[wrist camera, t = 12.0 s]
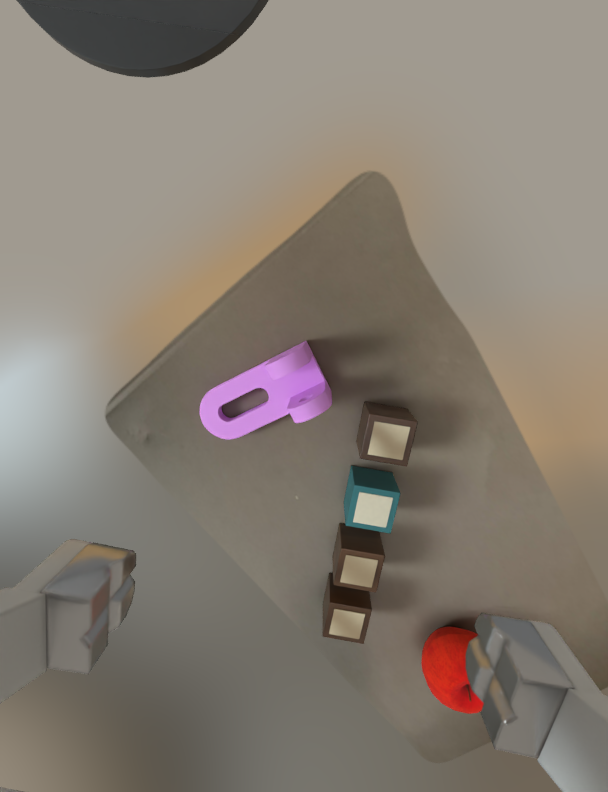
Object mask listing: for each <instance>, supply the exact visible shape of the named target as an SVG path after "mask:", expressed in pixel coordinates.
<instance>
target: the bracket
mask: <svg viewBox="0 0 608 792" xmlns="http://www.w3.org/2000/svg"><path fill="white" fill-rule="evenodd" d="M256 388H263V389H265V390H266V391H267V393H268V395H269V400H268V401H267V402H265V403H263V404H260V405H258V406H256V407H254V408H252V409H250V410H248V411H246V412H244V413H242V414H240V415H238V416H236V417H233V418H229V417H226V416H225V415H224V414H223V412H222V405H223V404H225V403H227V402H229V401H231V400H233V399H235V398H237V397H239V396H241V395H243V394H245V393H247V392H249V391H251V390H254V389H256ZM331 405H332V394H331V389H330V387H329V385H328V383H327V381H326V379H325V377H324V375H323V373H322V371H321V369H320V367H319V365H318V363H317V361H316V359H315V357H314V355H313V353H312V351H311V349H310V347H309V345H308V343H307V341H304V342H302V343H300V344H298V345H296V346H294V347H292V348H290V349H289V350H287V351H285V352H283V353H281V354H279V355H277V356H275V357H273V358H271V359H269V360H267V361H265V362H263V363H261V364H259V365H257V366H255V367H253V368H251V369H249V370H247V371H245V372H243V373H241V374H239V375H237V376H235V377H233V378H231V379H229V380H227V381H225V382H223V383H221V384H219V385H217V386H216V387H214V388H213V389H211V390H210V391H209V392H208V393H206V395H205V396H204V397H203V399H202V401H201V404H200V417H201V421H202V423H203V425H204V426H205V428H206V429H207V430H208V431H209V432H210V433H212V434H213V435H215V436H217V437H219V438H222V439H235V438H239V437H241V436H243V435H245V434H247V433H249V432H252V431H254V430H256V429H258V428H260V427H262V426H264V425H266V424H268V423H270V422H273V421H275V420H277V419H279V418H281V417H283V416H285V415H287V414H289V413H290V415H291V417H292V418H293V420H294V422H295V423H301V422H304V421H307V420H310V419H312V418H314V417H316V416H318V415H320V414H321V413H323V412H324V411H326V410H327V409H328V408H329V407H330V406H331Z"/></svg>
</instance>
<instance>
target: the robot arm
mask: <svg viewBox="0 0 608 792" xmlns="http://www.w3.org/2000/svg"><path fill="white" fill-rule="evenodd" d="M135 566H136V553H135V552H134V551H133V550H128V549H123V548H118V547H113V546H108V545H103V544H98V543H91V542H86V541H81V540H77V539H70V540H67V541H65V542H64V543H63V544H62V545H61V546H60V547H58V548H57V549H56V550H55V551H54V552H53V553H52V554H51V555H49V556H48V558H46V559H45V560H44V561H43V562H42V563H40V564H39V565H38V566H37V567H36V568H35V569H34V570H33V571H32V572H30V573H29V574H28V575H27V576H26V577H25V578H24V579H23V580H21V581H20V582H19V583H18V584H17V585H16V586H15V587H14V588H8V587H5V588H2V589H0V703H2V702H3V701H5V700H6V699H7V698H9V697H10V696H12V695H13V694H14V693H16V692H17V691H19V690H20V689H22V688H23V687H24V686H26V685H27V684H29V683H30V682H31V681H33V680H34V679H35V678H37V677H38V676H40V675H41V674H43V673H44V672H45V671H46V670H47V668H50V669H56V670H63V671H70V672H77V673H84V674H89V673H90V671H91V670H92V668H93V666H94V665H95V663H96V662H97V660H98V659H99V657H100V656H101V654H102V653H103V651H104V650H105V648H106V647H107V645H108V633H110V632H111V631H113V630H115V629H116V628H118V627H119V626H120V625H121V623H122V621H123V620H124V618H125V617H126V615H127V612H128V610H129V608H130V605H131V602H132V599H133V595H134V589H135V581H134V579H133V578H132V577H131V575H130V573H131V572H132V571H133V569H134V568H135ZM474 627H475V629H476V631H477V633H478V635H477V636H476V637H475V638H473V639H472V640H471V641H469V643H468V647H467V650H466V672H467V677H468V681H469V683H470V686H471V689H472V691H473V692H474V693H475V694H476V695H477V697H478V698H479V699H480V700H481V701H482V702H483V703H484V704H483V707H482V710H481V715H482V718H483V720H484V723H485V725H486V728H487V731H488V733H489V736H490V738H491V741H492V743H493V746H494V749H497V750H501V751H506V752H510V753H515V754H520V755H524V756H529V757H533V758H538V762H539V764H540V765H541V766H542V767H543V768H544V770H545V771H546V772H547V773H548V775H549V776H550V777H551V778H552V779H553V781H554V782H555V783H556V784H557V786H558V787H559V788H560V789H561V791H562V792H608V696H607V695H603V694H602V693H601V691H600V690H599V689H598V687H597V686H596V684H595V683H594V682H593V680H592V679H591V677H590V676H589V675H588V673H587V672H586V671H585V669H584V668H583V666H582V665H581V664H580V662H579V661H578V659H577V658H576V657H575V655H574V654H573V652H572V651H571V650H570V648H569V647H568V645H567V644H566V643H565V641H564V640H563V639H562V637H561V636H560V634H559V633H558V632H557V630H556V629H555V628H554V627H553V626H552V625H550V624H549V623H545V622H538V621H532V620H522V619H517V618H511V617H505V616H499V615H493V614H487V613H481V614H480V615H479V616H478V617H477V620H476V622H475V625H474ZM0 792H23V791H18V790H12V789H7V788H2V787H0Z"/></svg>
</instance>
